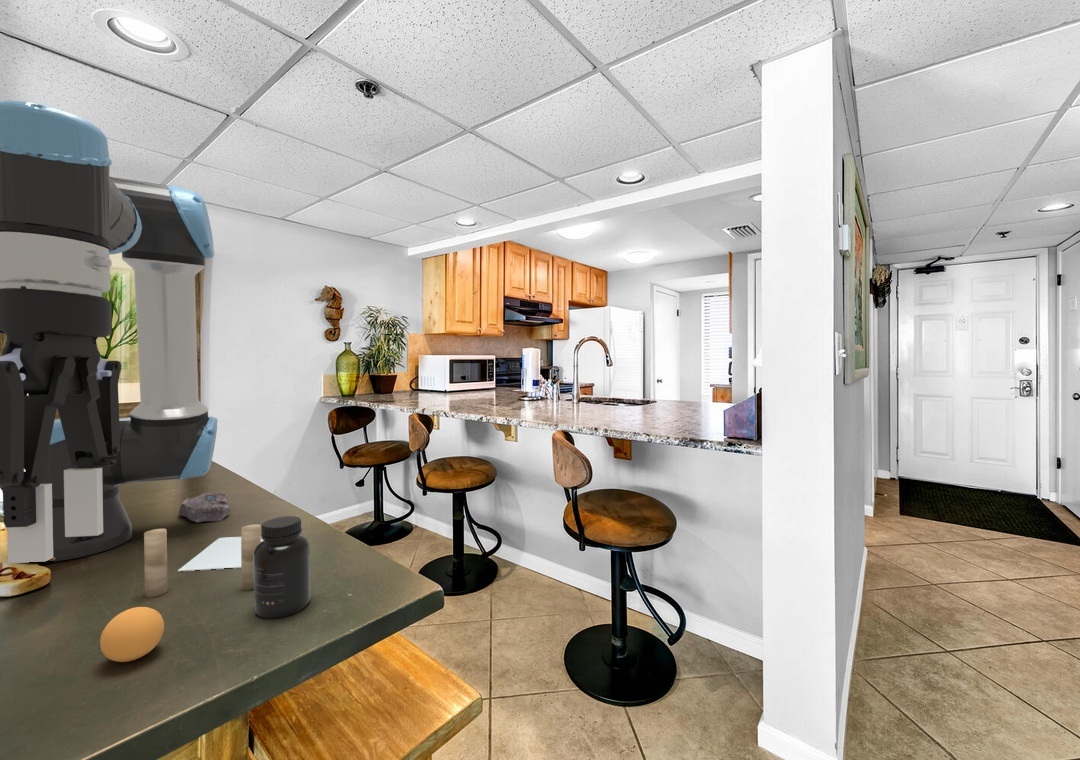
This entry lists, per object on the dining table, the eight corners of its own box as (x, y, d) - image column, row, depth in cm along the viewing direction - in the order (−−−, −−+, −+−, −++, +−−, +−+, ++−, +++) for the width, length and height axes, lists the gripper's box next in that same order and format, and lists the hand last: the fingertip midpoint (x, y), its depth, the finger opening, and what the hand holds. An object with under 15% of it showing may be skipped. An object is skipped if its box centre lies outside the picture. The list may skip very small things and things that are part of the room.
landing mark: (219, 538, 88) (219, 537, 88) (299, 534, 91) (299, 533, 91) (177, 571, 74) (177, 570, 74) (273, 565, 77) (273, 564, 77)
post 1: (151, 589, 69) (150, 529, 68) (171, 588, 69) (170, 528, 69) (140, 597, 66) (139, 535, 66) (160, 596, 67) (160, 534, 66)
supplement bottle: (273, 593, 68) (273, 512, 68) (319, 595, 68) (319, 513, 68) (241, 619, 61) (241, 529, 61) (293, 621, 61) (292, 530, 61)
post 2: (245, 583, 71) (245, 524, 71) (263, 581, 72) (263, 524, 71) (238, 591, 69) (238, 530, 68) (257, 589, 69) (257, 529, 69)
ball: (121, 645, 55) (121, 599, 55) (174, 640, 56) (174, 596, 56) (87, 676, 50) (86, 625, 50) (145, 670, 51) (145, 621, 51)
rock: (190, 528, 94) (190, 505, 94) (174, 515, 101) (174, 494, 101) (236, 518, 100) (236, 497, 100) (218, 507, 107) (218, 487, 107)
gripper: (11, 276, 34) (18, 592, 35) (162, 305, 52) (165, 513, 52) (-120, 269, 32) (-109, 600, 33) (83, 302, 50) (86, 516, 51)
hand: (59, 546), depth 43 cm, fingers open, 5 cm apart
